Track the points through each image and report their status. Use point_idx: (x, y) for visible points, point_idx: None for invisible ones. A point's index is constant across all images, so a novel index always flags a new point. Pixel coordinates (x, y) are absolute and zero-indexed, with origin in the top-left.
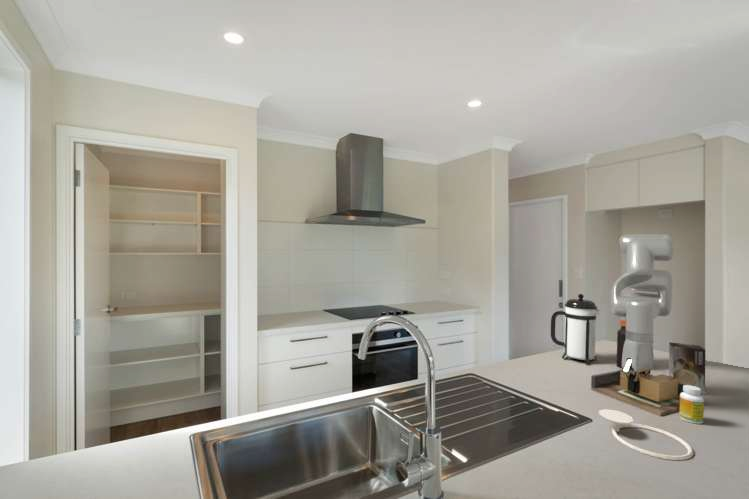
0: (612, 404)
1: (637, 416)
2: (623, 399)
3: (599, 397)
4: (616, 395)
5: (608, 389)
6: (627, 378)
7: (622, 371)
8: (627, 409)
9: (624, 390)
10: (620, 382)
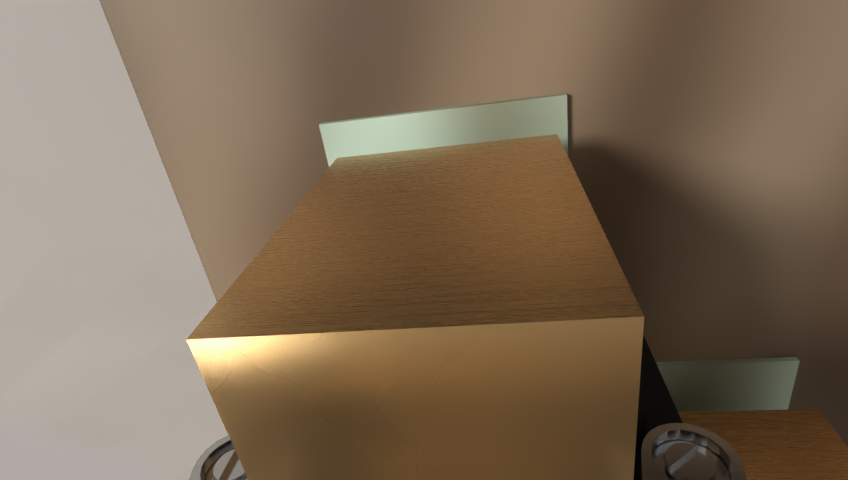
0: (77, 288)
1: (140, 469)
2: (219, 299)
3: (36, 117)
4: (208, 212)
5: (256, 8)
6: (211, 459)
7: (220, 381)
8: (149, 387)
9: (464, 125)
10: (307, 201)
